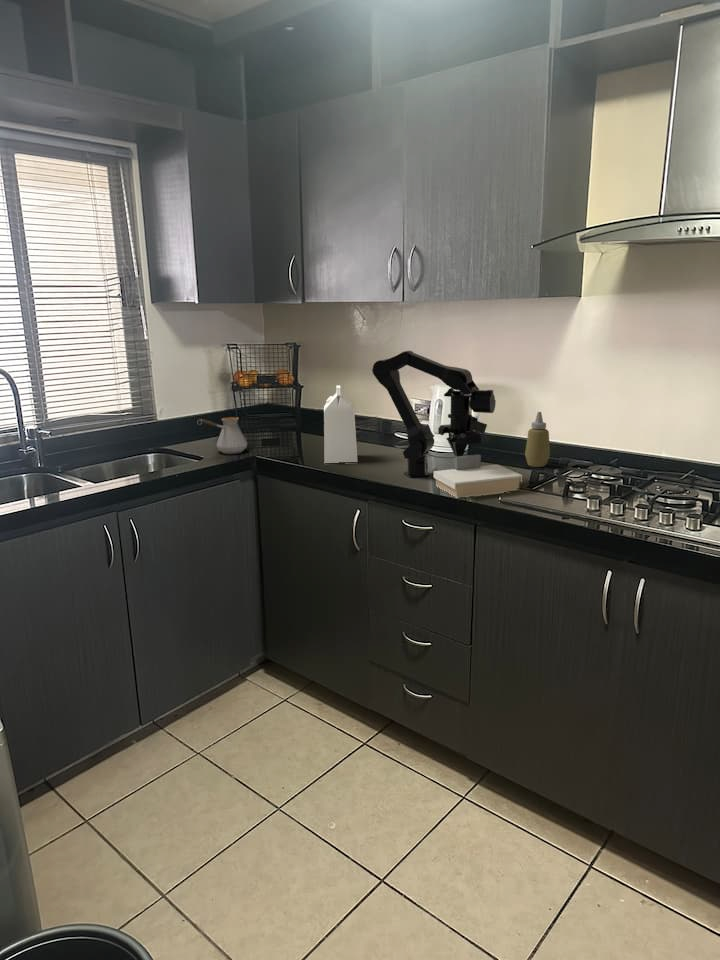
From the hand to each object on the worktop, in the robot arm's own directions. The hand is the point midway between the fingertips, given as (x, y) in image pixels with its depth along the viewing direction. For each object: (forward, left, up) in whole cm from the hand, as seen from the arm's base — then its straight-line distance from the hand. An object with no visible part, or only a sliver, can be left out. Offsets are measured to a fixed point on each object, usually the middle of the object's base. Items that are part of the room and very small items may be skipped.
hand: (459, 461), depth 213 cm
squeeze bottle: (-6, +32, -6) cm, 33 cm away
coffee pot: (-67, -64, -6) cm, 93 cm away
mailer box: (+12, 0, -6) cm, 13 cm away
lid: (+12, 0, -3) cm, 12 cm away
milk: (-41, -26, -6) cm, 49 cm away
